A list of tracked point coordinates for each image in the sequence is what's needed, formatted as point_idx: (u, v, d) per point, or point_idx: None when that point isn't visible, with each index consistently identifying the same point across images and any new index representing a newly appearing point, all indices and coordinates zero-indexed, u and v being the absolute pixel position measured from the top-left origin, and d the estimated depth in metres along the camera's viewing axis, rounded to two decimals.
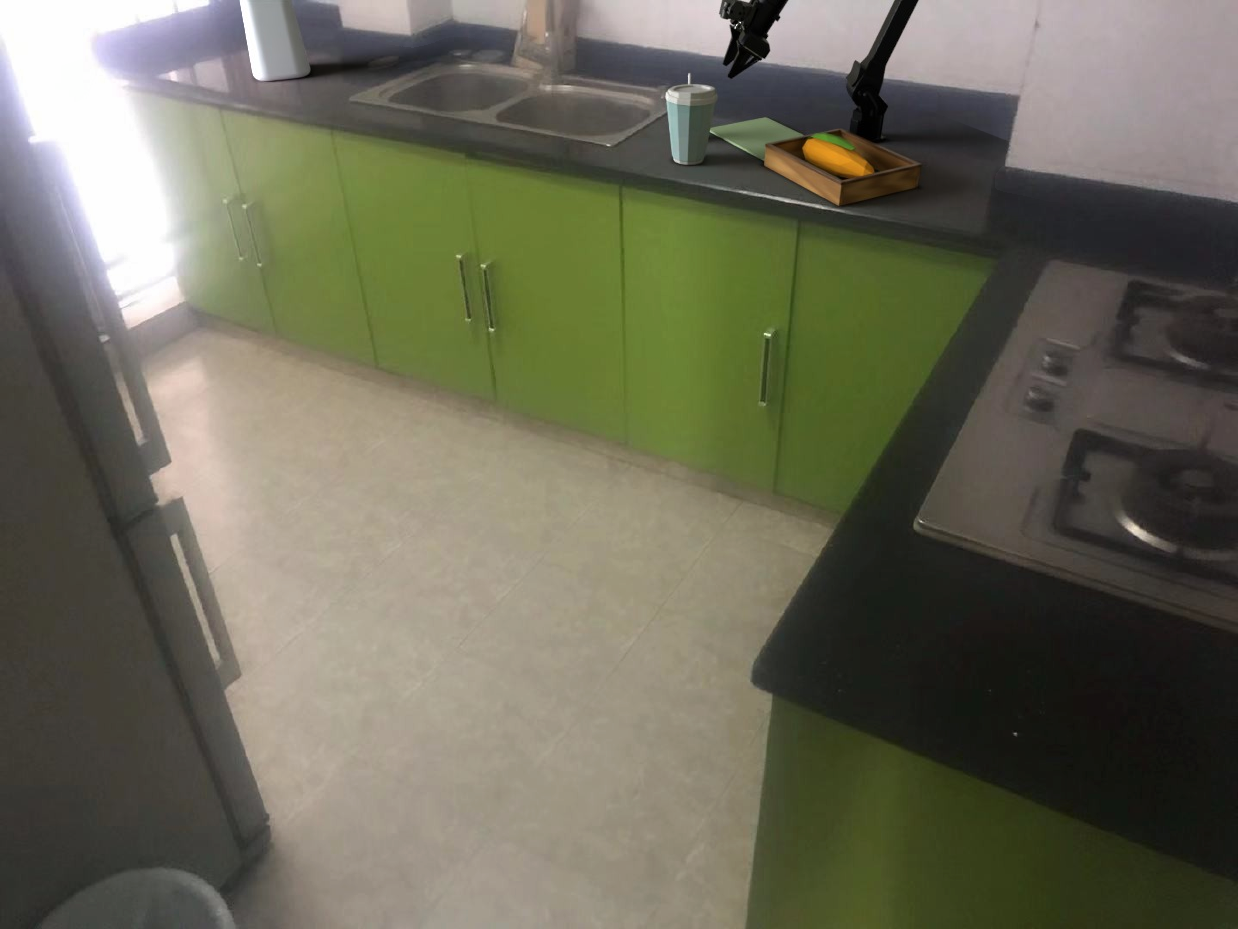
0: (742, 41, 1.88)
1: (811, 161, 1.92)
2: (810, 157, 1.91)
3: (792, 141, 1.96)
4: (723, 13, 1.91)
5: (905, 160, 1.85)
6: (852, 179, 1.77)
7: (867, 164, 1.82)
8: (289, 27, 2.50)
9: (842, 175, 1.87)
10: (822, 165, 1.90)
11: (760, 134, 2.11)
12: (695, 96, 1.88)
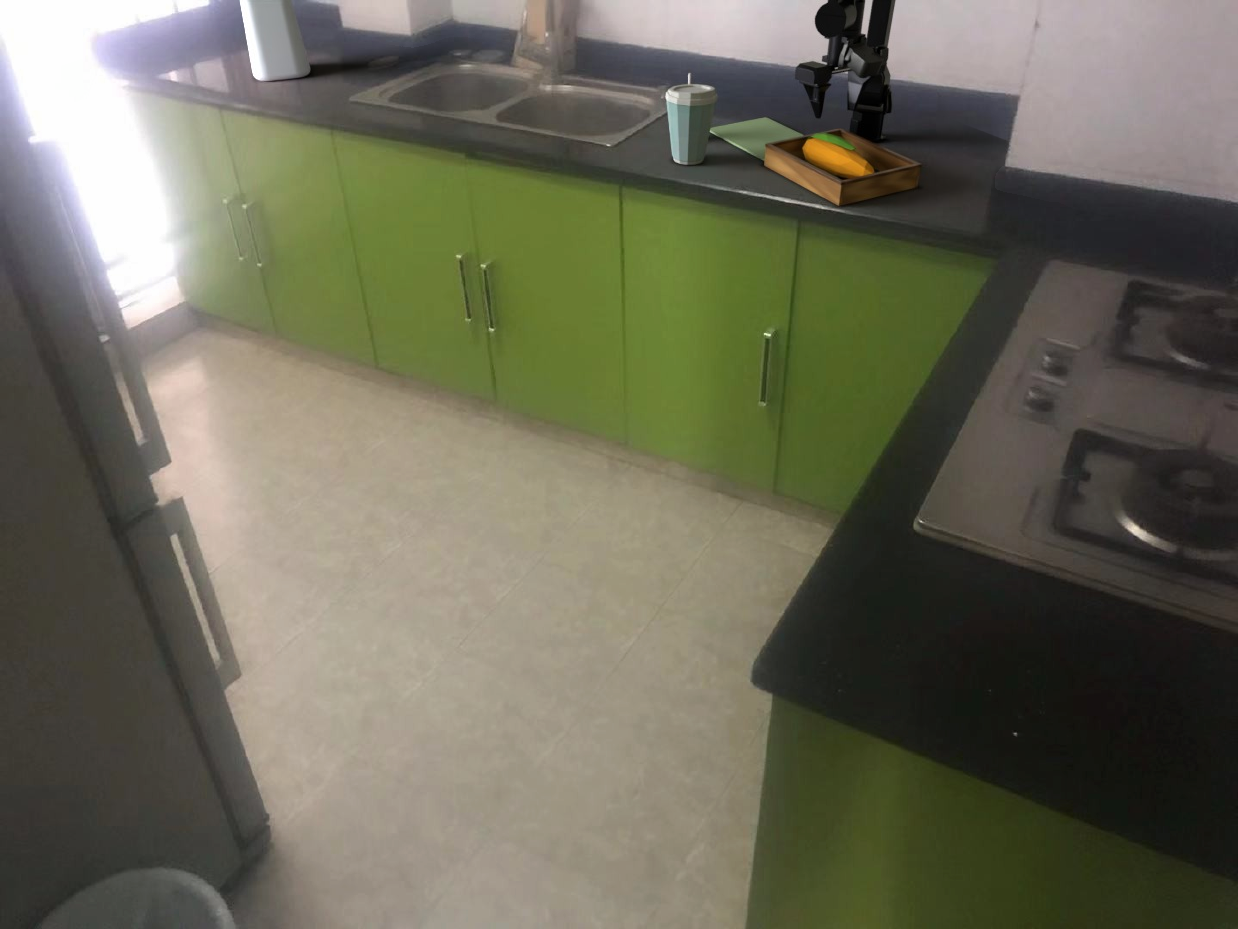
0: (885, 68, 1.82)
1: (811, 161, 1.92)
2: (810, 157, 1.91)
3: (792, 141, 1.96)
4: None
5: (905, 160, 1.85)
6: (852, 179, 1.77)
7: (867, 164, 1.82)
8: (289, 27, 2.50)
9: (842, 175, 1.87)
10: (822, 165, 1.90)
11: (760, 134, 2.11)
12: (695, 96, 1.88)
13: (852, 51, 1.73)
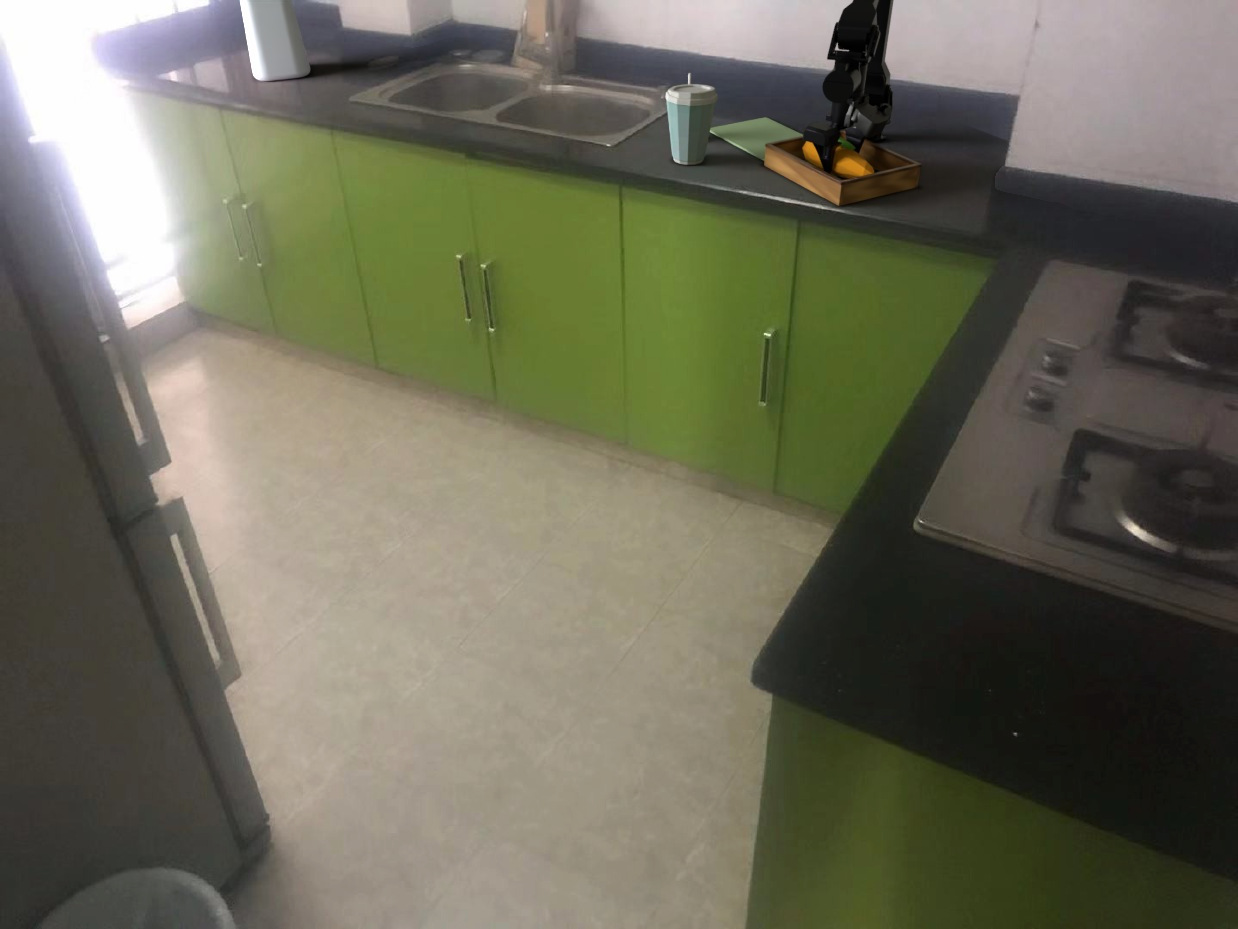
0: None
1: (811, 161, 1.92)
2: (810, 157, 1.91)
3: (792, 141, 1.96)
4: None
5: (905, 160, 1.85)
6: (852, 179, 1.77)
7: (867, 164, 1.82)
8: (289, 27, 2.50)
9: (842, 175, 1.87)
10: None
11: (760, 134, 2.11)
12: (695, 96, 1.88)
13: (858, 112, 1.79)
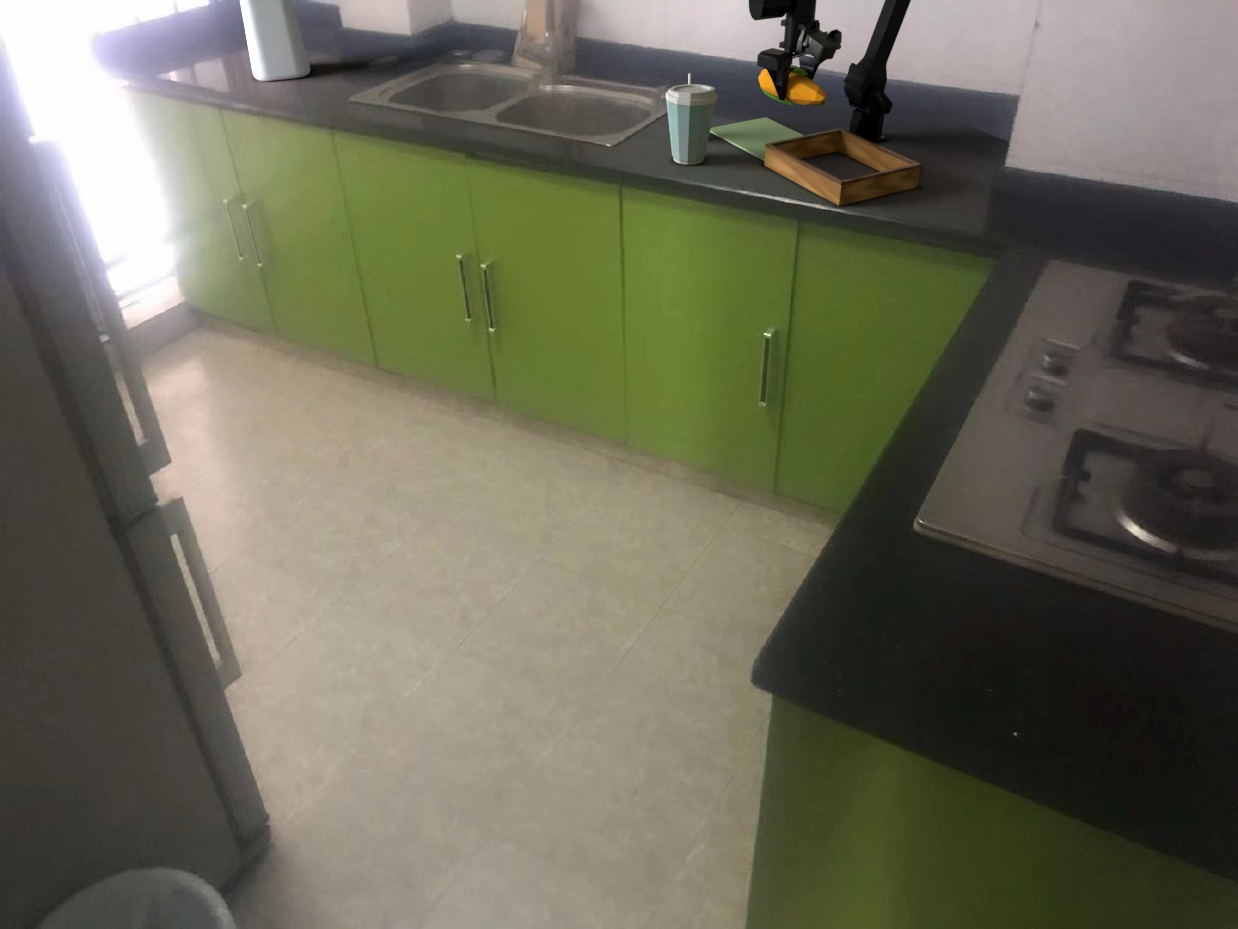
0: None
1: (766, 90, 1.98)
2: (765, 86, 1.97)
3: (792, 141, 1.96)
4: None
5: (905, 160, 1.85)
6: (852, 179, 1.77)
7: (819, 89, 1.89)
8: (289, 27, 2.50)
9: (796, 101, 1.93)
10: None
11: (760, 134, 2.11)
12: (695, 96, 1.88)
13: (809, 37, 1.85)
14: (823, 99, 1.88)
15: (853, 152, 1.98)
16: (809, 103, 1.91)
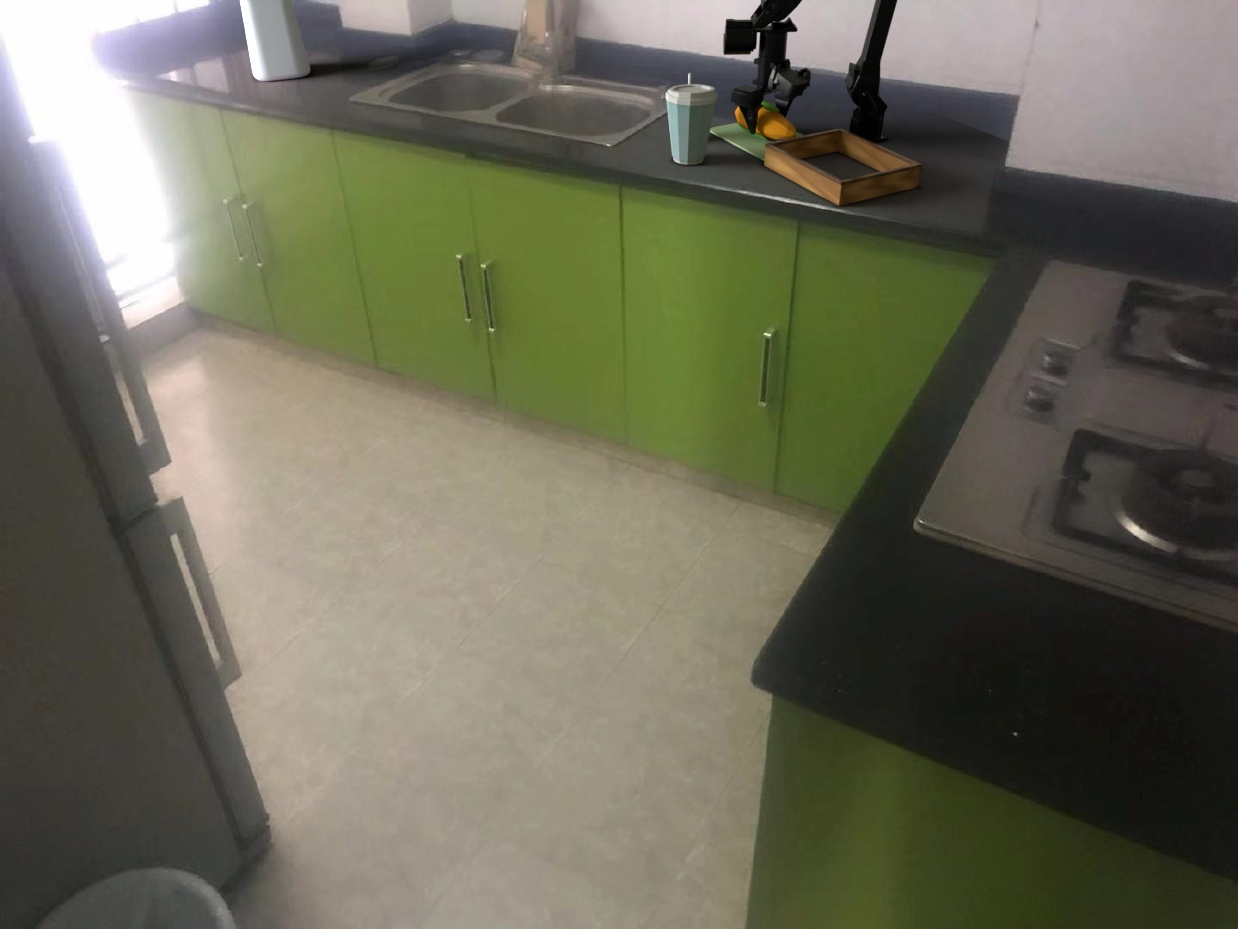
0: None
1: (742, 124, 2.10)
2: (741, 120, 2.09)
3: (792, 141, 1.96)
4: None
5: (905, 160, 1.85)
6: (852, 179, 1.77)
7: (789, 125, 2.00)
8: (289, 27, 2.50)
9: (768, 136, 2.05)
10: None
11: None
12: (695, 96, 1.88)
13: (780, 75, 1.97)
14: (793, 135, 2.00)
15: (853, 152, 1.98)
16: (780, 138, 2.03)
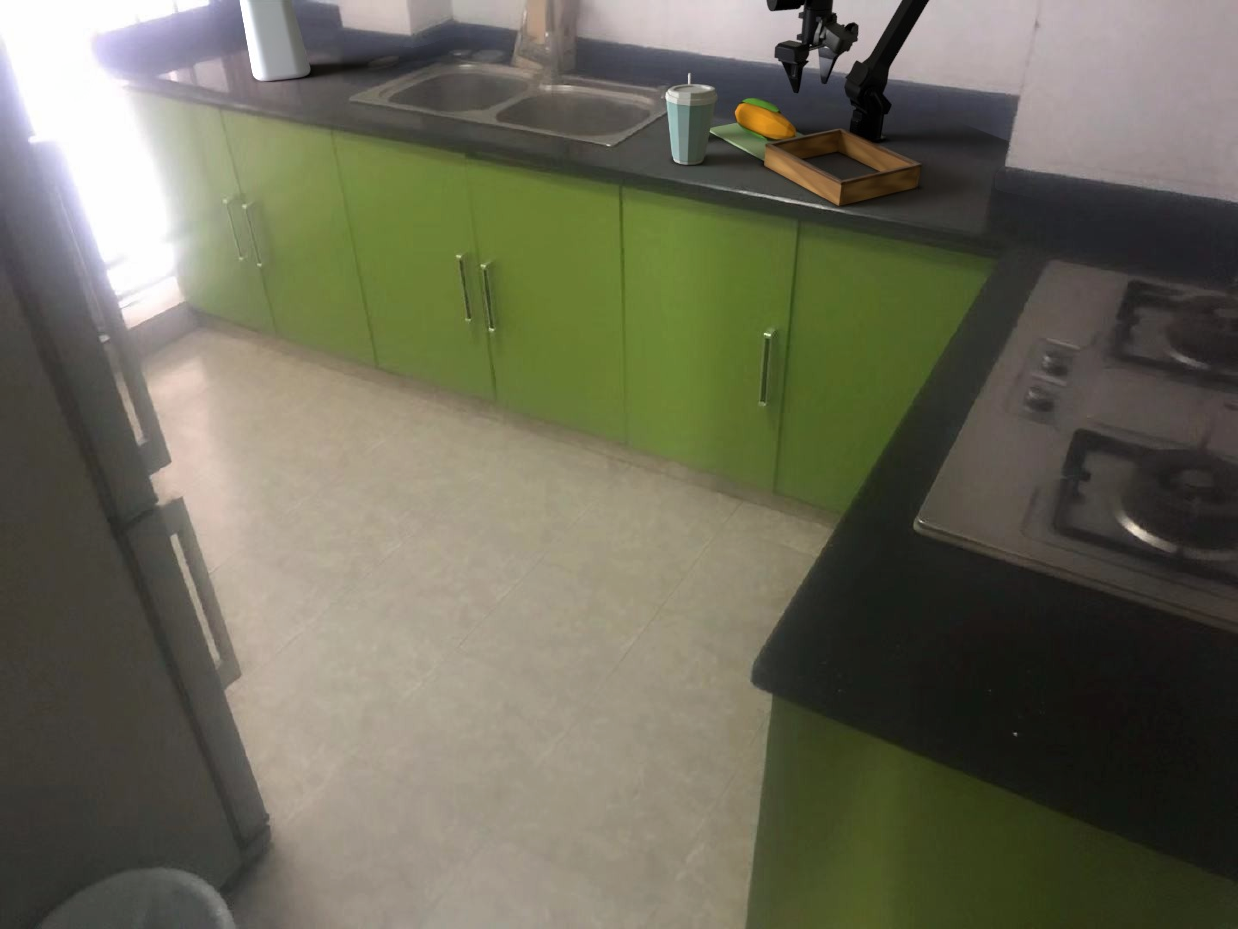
0: (852, 42, 1.97)
1: (742, 124, 2.10)
2: (741, 120, 2.09)
3: (792, 141, 1.96)
4: None
5: (905, 160, 1.85)
6: (852, 179, 1.77)
7: (789, 125, 2.00)
8: (289, 27, 2.50)
9: (768, 135, 2.05)
10: (751, 127, 2.08)
11: None
12: (695, 96, 1.88)
13: (827, 29, 1.87)
14: (793, 134, 2.00)
15: (853, 152, 1.98)
16: (780, 138, 2.03)
